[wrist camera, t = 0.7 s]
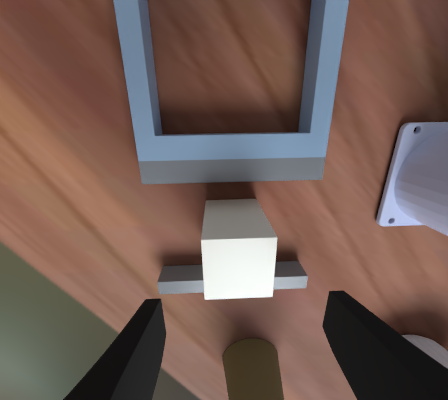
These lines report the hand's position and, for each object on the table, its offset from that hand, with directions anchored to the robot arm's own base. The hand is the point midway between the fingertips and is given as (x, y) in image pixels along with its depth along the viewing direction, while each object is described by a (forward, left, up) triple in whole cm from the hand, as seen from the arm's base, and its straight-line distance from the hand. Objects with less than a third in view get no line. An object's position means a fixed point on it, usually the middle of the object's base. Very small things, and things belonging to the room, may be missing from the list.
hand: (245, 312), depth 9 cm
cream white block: (0, 0, -9) cm, 9 cm away
